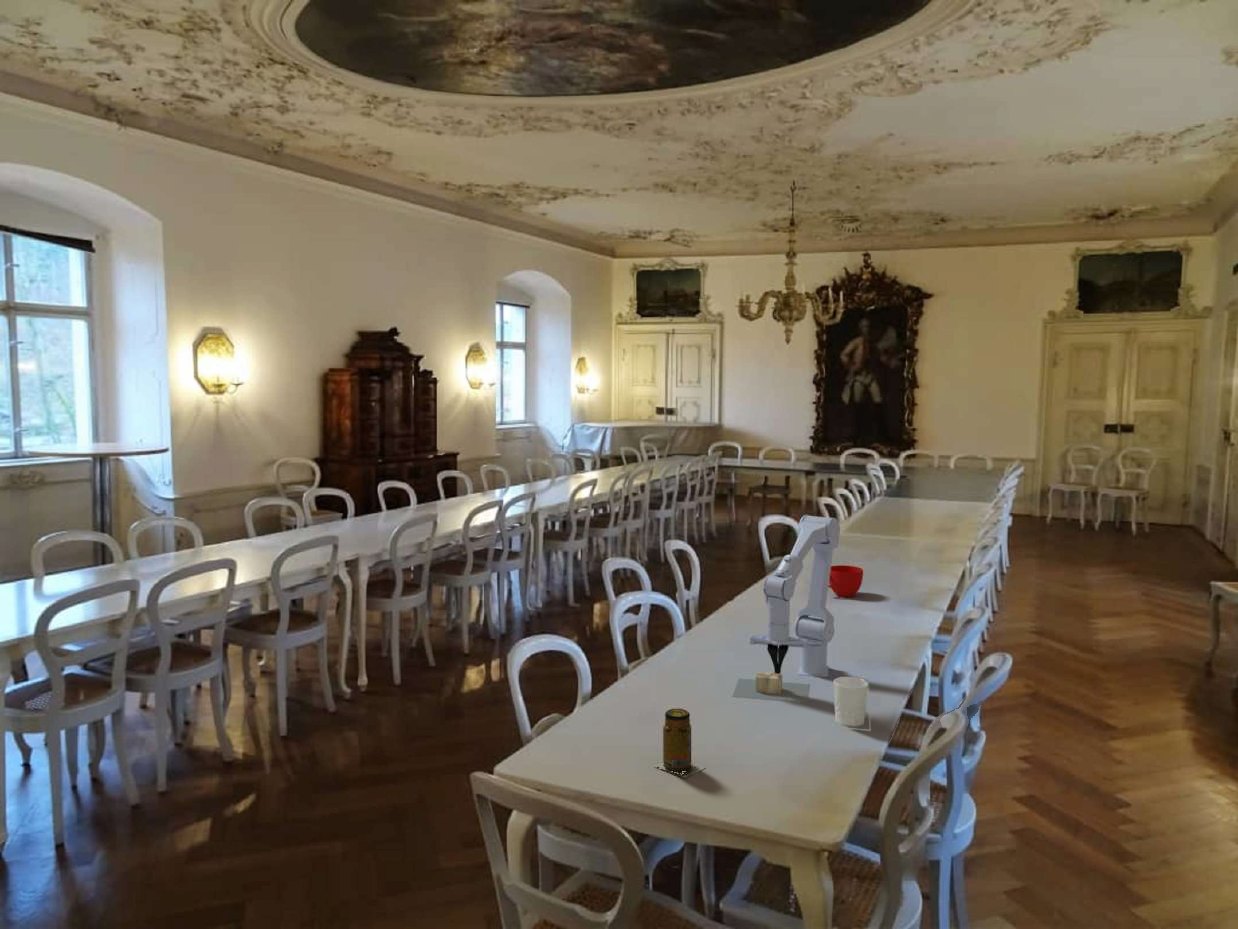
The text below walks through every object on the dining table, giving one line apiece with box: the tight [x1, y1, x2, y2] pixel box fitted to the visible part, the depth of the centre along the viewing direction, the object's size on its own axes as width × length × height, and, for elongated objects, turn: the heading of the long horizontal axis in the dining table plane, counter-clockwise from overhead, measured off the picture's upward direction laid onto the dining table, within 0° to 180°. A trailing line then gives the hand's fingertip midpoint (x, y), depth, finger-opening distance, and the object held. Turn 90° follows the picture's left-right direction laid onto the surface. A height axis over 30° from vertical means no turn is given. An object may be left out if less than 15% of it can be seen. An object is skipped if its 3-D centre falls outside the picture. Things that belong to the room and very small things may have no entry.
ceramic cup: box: [828, 564, 864, 598], centre depth 332 cm, size 13×17×10 cm
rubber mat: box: [732, 677, 811, 704], centre depth 233 cm, size 14×19×1 cm
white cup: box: [833, 676, 869, 727], centre depth 212 cm, size 8×8×10 cm
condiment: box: [653, 708, 707, 779], centre depth 188 cm, size 7×8×12 cm
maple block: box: [755, 671, 783, 694], centre depth 233 cm, size 4×4×6 cm
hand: (777, 672), depth 232 cm, fingers closed
